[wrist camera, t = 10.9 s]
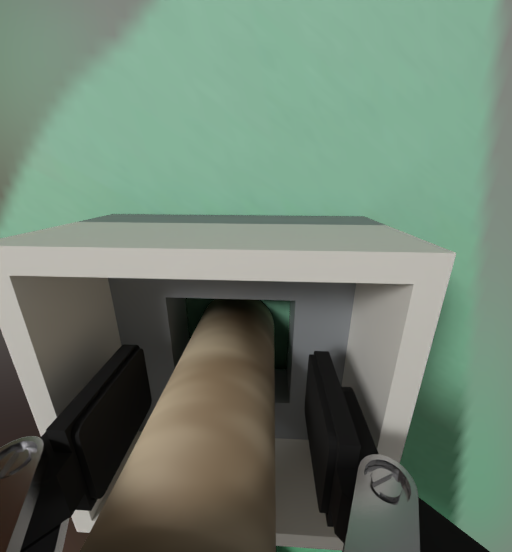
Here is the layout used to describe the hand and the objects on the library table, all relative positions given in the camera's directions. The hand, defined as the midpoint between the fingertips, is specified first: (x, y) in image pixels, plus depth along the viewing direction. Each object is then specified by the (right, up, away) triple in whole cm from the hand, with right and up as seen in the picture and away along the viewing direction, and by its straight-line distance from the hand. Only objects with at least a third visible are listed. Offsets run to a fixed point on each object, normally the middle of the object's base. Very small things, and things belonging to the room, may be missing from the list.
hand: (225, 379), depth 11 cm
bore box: (0, +1, +4) cm, 4 cm away
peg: (0, +1, +4) cm, 4 cm away
